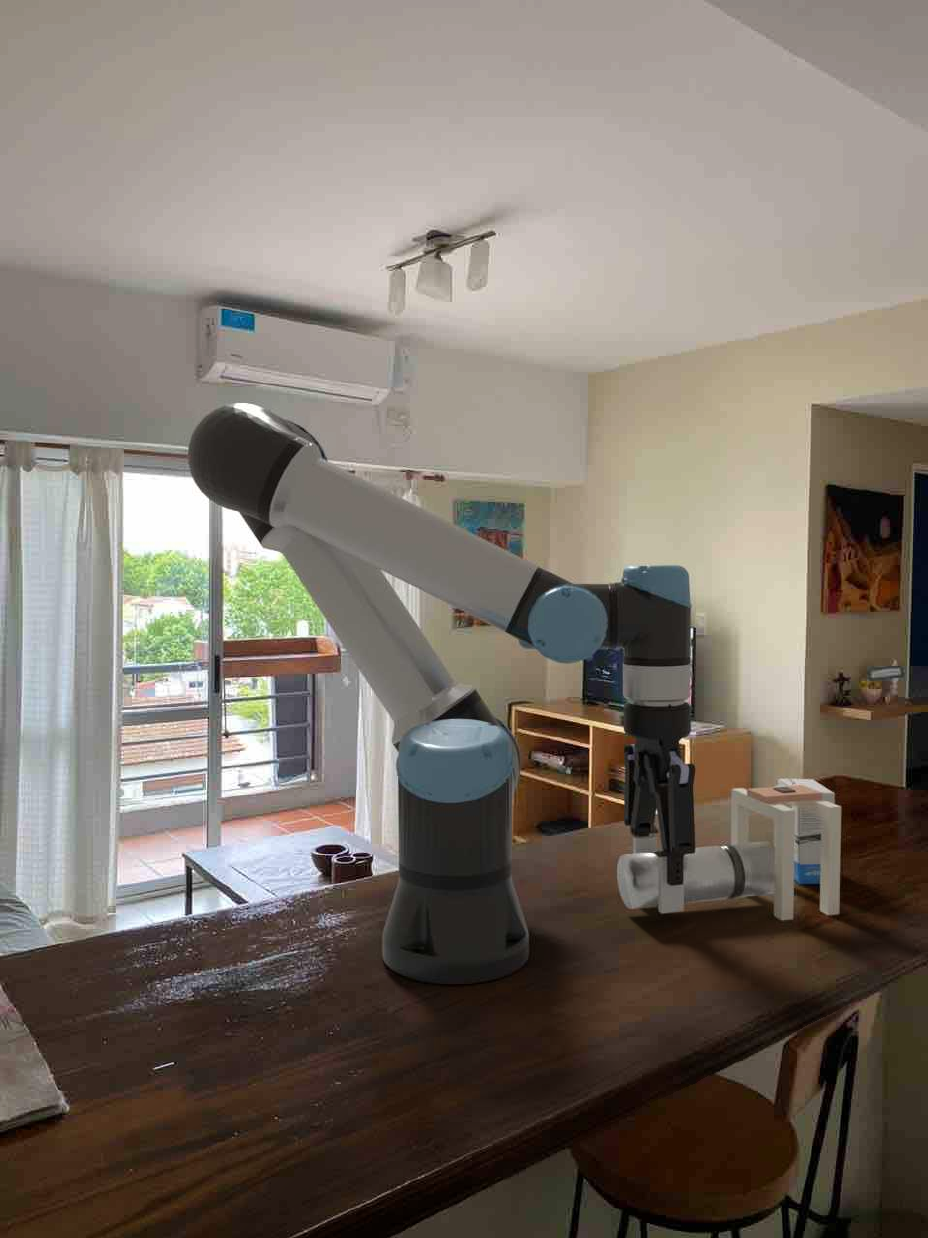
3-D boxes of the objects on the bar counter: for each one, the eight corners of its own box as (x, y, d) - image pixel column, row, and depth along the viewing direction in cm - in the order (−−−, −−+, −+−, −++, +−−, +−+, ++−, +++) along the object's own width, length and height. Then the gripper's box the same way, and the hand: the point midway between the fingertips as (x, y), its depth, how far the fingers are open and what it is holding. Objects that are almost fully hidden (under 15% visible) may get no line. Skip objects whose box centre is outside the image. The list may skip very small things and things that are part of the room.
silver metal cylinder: (636, 919, 104) (639, 868, 103) (615, 893, 110) (618, 845, 109) (781, 903, 109) (785, 854, 107) (753, 879, 114) (757, 832, 113)
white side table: (781, 920, 106) (783, 802, 105) (730, 888, 116) (731, 780, 116) (839, 914, 108) (841, 798, 107) (783, 883, 118) (785, 777, 118)
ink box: (836, 885, 118) (838, 792, 117) (796, 885, 118) (798, 792, 117) (812, 864, 126) (814, 777, 126) (775, 863, 126) (776, 777, 126)
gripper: (730, 711, 98) (730, 927, 99) (650, 689, 117) (651, 872, 118) (664, 714, 96) (665, 935, 98) (594, 692, 115) (595, 878, 116)
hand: (657, 900), depth 108 cm, fingers closed on silver metal cylinder, 6 cm apart
